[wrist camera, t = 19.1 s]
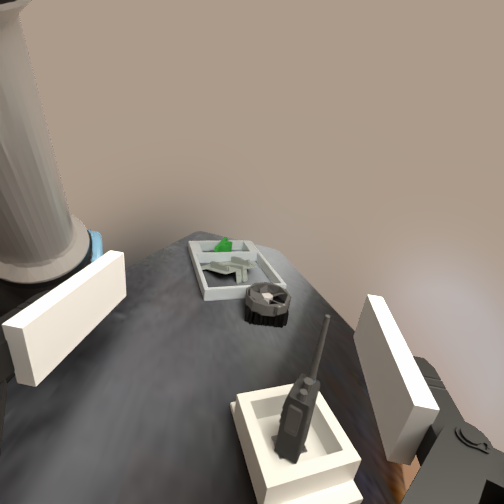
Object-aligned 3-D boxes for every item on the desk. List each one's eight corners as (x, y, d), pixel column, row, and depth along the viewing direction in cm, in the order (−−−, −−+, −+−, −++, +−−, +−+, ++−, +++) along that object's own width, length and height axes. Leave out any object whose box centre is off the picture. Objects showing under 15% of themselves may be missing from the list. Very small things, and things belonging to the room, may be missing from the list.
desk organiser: (188, 249, 96) (188, 240, 95) (249, 248, 103) (250, 240, 102) (204, 301, 70) (204, 290, 69) (284, 294, 77) (286, 284, 76)
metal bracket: (264, 258, 84) (219, 269, 74) (265, 278, 85) (221, 291, 76) (233, 252, 95) (191, 261, 85) (235, 270, 96) (193, 281, 86)
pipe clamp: (224, 262, 90) (225, 249, 88) (213, 260, 91) (214, 247, 89) (233, 250, 100) (234, 238, 98) (223, 248, 100) (224, 236, 99)
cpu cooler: (247, 279, 71) (289, 284, 71) (244, 299, 73) (285, 304, 74) (244, 303, 62) (293, 309, 62) (242, 325, 64) (288, 331, 64)
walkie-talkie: (285, 423, 42) (313, 306, 35) (307, 436, 41) (341, 317, 33) (270, 452, 39) (298, 327, 31) (294, 467, 37) (330, 340, 29)
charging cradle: (230, 407, 45) (233, 383, 43) (300, 393, 49) (306, 370, 47) (267, 537, 32) (274, 510, 30) (360, 503, 35) (372, 477, 34)
